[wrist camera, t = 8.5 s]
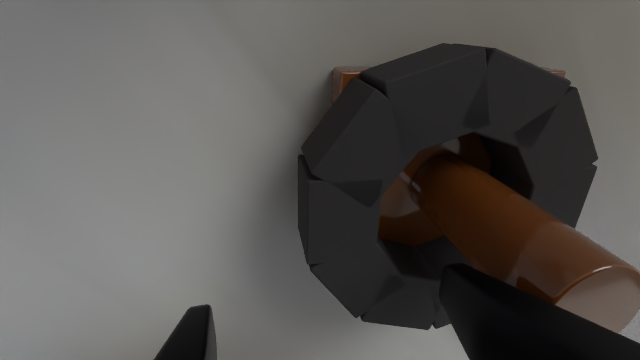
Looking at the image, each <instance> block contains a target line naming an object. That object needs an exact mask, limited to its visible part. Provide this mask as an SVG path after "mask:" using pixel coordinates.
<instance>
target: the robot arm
mask: <svg viewBox="0 0 640 360" xmlns="http://www.w3.org/2000/svg"><path fill="white" fill-rule="evenodd" d="M439 299H440V302H441V304H442V306H443V308H444V310H445V312H446V314H447V316H448V318H449V320H450V322H451V324H452V326H453V328H454V330H455V332H456V334H457V336H458V338H459V340H460V342H461V344H462V346H463V348H464V350H465V352H466V354H467V356H468V358H469V359H470V360H640V343H638V342H635V341H633V340H631V339H629V338H627V337H624V336H622V335H620V334H618V333H616V332H613V331H611V330H609V329H607V328H605V327H602V326H600V325H598V324H596V323H594V322H591V321H589V320H587V319H585V318H583V317H580V316H578V315H576V314H574V313H572V312H569V311H567V310H565V309H563V308H561V307H558V306H556V305H554V304H552V303H550V302H547V301H545V300H543V299H541V298H539V297H536V296H534V295H532V294H530V293H528V292H525V291H523V290H521V289H519V288H517V287H514V286H512V285H510V284H508V283H506V282H503V281H501V280H499V279H497V278H495V277H492V276H490V275H488V274H486V273H484V272H481V271H479V270H477V269H475V268H473V267H470V266H468V265H466V264H464V263H455V264H448V265H446V266H445V267H444V268H443V272H442V277H441V283H440V288H439ZM154 360H217V346H216V333H215V327H214V320H213V314H212V308H211V306H210V305H208V304H206V305H200V306H194V307H190V308H189V309H188V310H187V311H186V313H185V314H184V316H183V317H182V319H181V320H180V322H179V323H178V325H177V326H176V328H175V329H174V331H173V332H172V334H171V335H170V337H169V338H168V339H167V341H166V342H165V344H164V345H163V347H162V348H161V350H160V351H159V353H158V354H157V356H156V357H155V359H154Z"/></svg>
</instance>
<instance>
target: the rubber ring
mask: <svg viewBox="0 0 640 360" xmlns="http://www.w3.org/2000/svg"><path fill="white" fill-rule="evenodd" d="M361 77H362V81H363V82H362V81H361V80H359V79H357V78H355V77H353V78H352V79H351V81H350V82H349V83H348V85H347V86H346V87H345V89H344V90H343V91H342V93H341V94H340V96H339V97H338V98H337V100H336V101H335V102H334V104H333V105H332V106H331V108H330V109H329V110H328V112H327V113H326V114H325V116H324V117H323V118H322V120H321V121H320V123H319V124H318V125H317V127H316V128H315V129H314V131H313V132H312V133H311V135H310V136H309V137H308V139H307V140H306V141H305V143H304V144H303V146H302V147H301V149H302V151H303V154H304V155H298V229H299V233H300V237H301V241H302V245H303V249H304V254H305V258H306V262H307V264H309V267H310V271H311V272H312V273H313V274H314V275H315V276H316V277H317V278H318V279H319V280H320V281H321V283H322V284H323V285H324V286H325V287H326V288H327V289H328V290H329V291H330V292H331V293H332V294H333V295H334V296H335V297H336V298H337V299H338V300H339V301H340V302H341V303H342V305H343V306H344V307H345V308H346V309H347V310H348V311H349V312H350V313H351V314H352V315H353V316H354V317H355V318H358V317H359V316H360V317H361V320H362V321H364V322H370V323H378V324H386V325H394V326H401V327H409V328H417V329H424V330H428V329H430V327H431V325H433V326H434V327H435V328H436V329H437V328H440V327H443V326H445V325H448V324H451V322H450V320H449V318H448V316H447V314H446V312H445V310H444V308H443V306H442V304H441V302H440V299H439V288H440V283H441V277H442V272H443V268H444V267H445V266H446V265H448V264H455V263H464V264H466V265H468V266H470V267H472V265H471V264H470V263H469V262H468V261H467V260H466V259H465V258H464V257H463V256H462V254H461V253H460V252H459V251H458V250H457V249H456V248H455V247H454V246H453V245H452V244H451V242H450V241H449V240H448V239H447V238H446V237H445V236H442V237H439V238H437V239H434V240H431V241H428V242H426V243H423V244H420V245H417V246H412V245H408V244H403V243H398V242H393V241H388V240H384V239H380V238H379V237H378V228H379V218H380V209H381V199H382V195H383V194H384V192H385V191H386V190H387V189H388V188H389V186H390V185H391V184H392V183H393V182H394V180H395V179H396V178H397V177H398V176H399V174H400V173H401V172H402V171H403V170H404V168H405V167H406V166H407V165H408V164H409V163H410V161H411V160H412V159H413V158H414V157H415V155H416V154H417V153H418V152H419V151H421V150H424V149H427V148H430V147H433V146H435V145H438V144H441V143H444V142H447V141H450V140H452V139H455V138H458V137H461V136H464V135H467V134H469V133H475V134H478V135H479V136H480V138H481V140H482V143H483V145H484V147H485V149H486V151H487V153H488V155H489V157H490V159H491V161H492V163H491V168H490V172H489V175H491V176H493V177H494V178H496V179H497V180H499V181H500V182H502V183H504V184H505V185H507V186H508V187H510V188H511V189H513V190H514V191H516V192H518V193H519V194H521V195H522V196H524V197H525V198H527V199H529V200H530V201H532V202H533V203H535V204H536V205H538V206H540V207H541V208H543V209H544V210H546V211H547V212H549V213H550V214H552V215H554V216H555V217H557V218H558V219H560V220H561V221H563V222H565V223H566V224H568V225H569V226H571V227H572V228H574V229H575V227H576V224H577V221H578V218H579V216H580V213H581V210H582V208H583V205H584V202H585V199H586V197H587V194H588V191H589V189H590V186H591V183H592V180H593V178H594V175H595V172H596V170H597V166H595V165H593V164H592V163H593V162H595V161H596V160H597V159H598V156H597V153H596V150H595V146H594V143H593V140H592V136H591V133H590V130H589V126H588V123H587V120H586V116H585V113H584V110H583V106H582V103H581V100H580V96H579V93H578V90H577V88H576V87H572V86H570V84H571V82H570V81H569V80H567V79H565V78H563V77H560V76H558V75H556V74H554V73H551V72H549V71H547V70H544V69H542V68H540V67H538V66H535V65H533V64H531V63H528V62H526V61H524V60H521V59H519V58H517V57H515V56H512V55H510V54H508V53H505V52H503V51H501V50H498V49H496V48H489V47H480V46H471V45H462V44H445V43H442V44H439V45H437V46H434V47H431V48H428V49H425V50H422V51H419V52H416V53H413V54H410V55H407V56H404V57H401V58H398V59H395V60H393V61H390V62H387V63H384V64H381V65H378V66H375V67H372V68H369V69H366V70H363V71H362V72H361Z"/></svg>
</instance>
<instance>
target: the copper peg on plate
mask: <svg viewBox="0 0 640 360" xmlns="http://www.w3.org/2000/svg"><path fill="white" fill-rule="evenodd" d="M369 68H372V67H335V68H334V69H333V84H332V105H333V104H334V102H335V101H336V100H337V98H338V97H339V96H340V94H341V93H342V91H343V90H344V89H345V87H346V86H347V85H348V83H349V82H350V81H351V79H352V78H353V77H355V78H357V79H359V80H361V81H362V77H361V72H362V71H363V70H366V69H369ZM540 68H542V67H540ZM542 69H544V70H547V71H549V72H551V73H554V74H556V75H558V76H560V77H563V78H564V76H565V72H564V71H561V70H555V69H549V68H542ZM362 82H363V81H362ZM491 163H492V161H491V159H490V157H489V155H488V153H487V151H486V149H485V147H484V145H483V143H482V140H481V138H480V136H479V135H478V134H475V133H469V134H467V135H464V136H461V137H458V138H455V139H452V140H450V141H447V142H444V143H441V144H438V145H435V146H433V147H430V148H427V149H424V150H421V151H419V152H418V153H417V154H416V155H415V157H414V158H413V159H412V160H411V161H410V163H409V164H408V165H407V166H406V167H405V168H404V170H403V171H402V172H401V173H400V174H399V176H398V177H397V178H396V179H395V180H394V182H393V183H392V184H391V185H390V186H389V188H388V189H387V190H386V191H385V192H384V194H383V195H382V199H381V209H380V218H379V228H378V237H379V238H380V239H384V240H388V241H393V242H398V243H403V244H408V245H412V246H417V245H420V244H423V243H426V242H428V241H431V240H434V239H437V238H439V237H442V236H445V237H446V238H447V239H448V240H449V241H450V242H451V244H452V245H453V246H454V247H455V248H456V249H457V250H458V251H459V252H460V253H461V254H462V256H463V257H464V258H465V259H466V260H467V261H468V262H469V263H470V264H471V265H472V267H473V268H475V269H477V270H479V271H481V272H484V273H486V274H488V275H490V276H492V277H495V278H497V279H499V280H501V281H503V282H506V283H508V284H510V285H512V286H514V287H517V288H519V289H521V290H523V291H525V292H528V293H530V294H532V295H534V296H536V297H539V298H541V299H543V300H545V301H547V302H550V303H552V304H554V305H556V306H558V307H561V308H563V309H565V310H567V311H569V312H572V313H574V314H576V315H578V316H580V317H583V318H585V319H587V320H589V321H591V322H594V323H596V324H598V325H600V326H602V327H605V328H607V329H609V330H611V331H613V332H616V333H619V332H620V331H621V330H622V329H623V328H625V327H626V326H627V324H628V323H629V322H630V321H631V320H632V319H633V318H634V316H635V315H636V313H637V312H638V310H639V309H640V272H639V270H637V269H636V268H635V267H633V266H632V265H630V264H629V263H627V262H625V261H624V260H622V259H621V258H619V257H618V256H616V255H615V254H613V253H611V252H610V251H608V250H607V249H605V248H604V247H602V246H600V245H599V244H597V243H596V242H594V241H593V240H591V239H590V238H588V237H586V236H585V235H583V234H582V233H580V232H579V231H577V230H575V229H574V228H572V227H571V226H569V225H568V224H566V223H565V222H563V221H561V220H560V219H558V218H557V217H555V216H554V215H552V214H550V213H549V212H547V211H546V210H544V209H543V208H541V207H540V206H538V205H536V204H535V203H533V202H532V201H530V200H529V199H527V198H525V197H524V196H522V195H521V194H519V193H518V192H516V191H514V190H513V189H511V188H510V187H508V186H507V185H505V184H504V183H502V182H500V181H499V180H497V179H496V178H494V177H493V176H491V175H489V172H490V168H491Z"/></svg>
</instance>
